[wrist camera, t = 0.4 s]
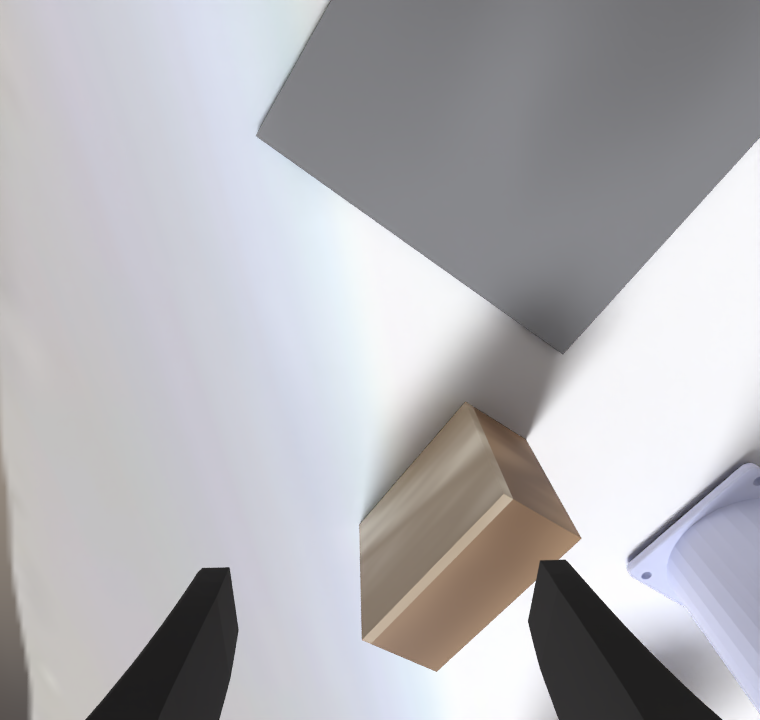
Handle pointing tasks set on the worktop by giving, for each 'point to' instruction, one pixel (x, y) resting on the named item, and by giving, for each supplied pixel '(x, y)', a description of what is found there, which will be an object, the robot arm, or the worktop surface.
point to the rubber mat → (526, 134)
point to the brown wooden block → (457, 540)
